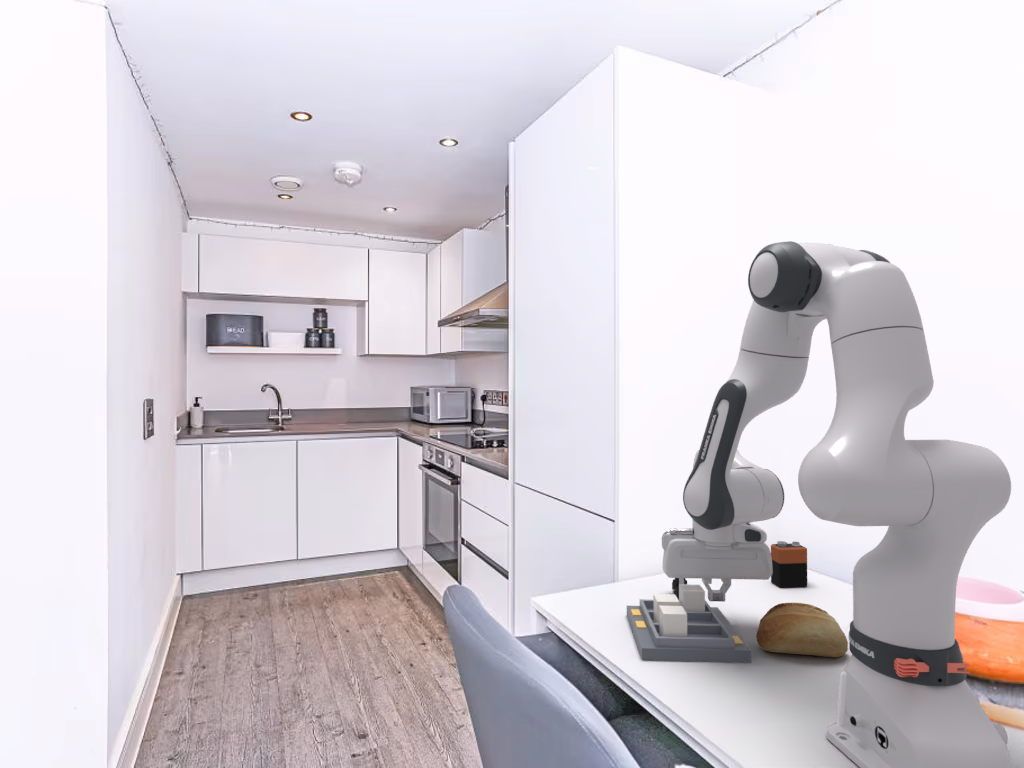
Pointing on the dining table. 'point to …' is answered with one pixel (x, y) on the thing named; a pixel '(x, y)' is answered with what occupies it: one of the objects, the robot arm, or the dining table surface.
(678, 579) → the push button
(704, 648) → the switch bank
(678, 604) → the tab
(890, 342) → the robot arm
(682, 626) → the tab
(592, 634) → the dining table surface
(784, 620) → the bread roll
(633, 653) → the dining table surface
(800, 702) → the dining table surface
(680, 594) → the tab
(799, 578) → the battery
